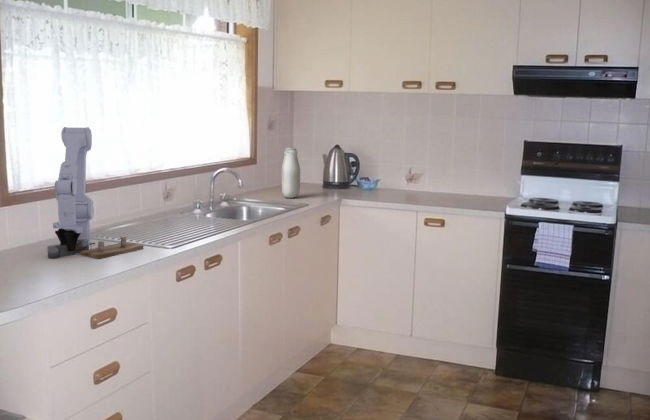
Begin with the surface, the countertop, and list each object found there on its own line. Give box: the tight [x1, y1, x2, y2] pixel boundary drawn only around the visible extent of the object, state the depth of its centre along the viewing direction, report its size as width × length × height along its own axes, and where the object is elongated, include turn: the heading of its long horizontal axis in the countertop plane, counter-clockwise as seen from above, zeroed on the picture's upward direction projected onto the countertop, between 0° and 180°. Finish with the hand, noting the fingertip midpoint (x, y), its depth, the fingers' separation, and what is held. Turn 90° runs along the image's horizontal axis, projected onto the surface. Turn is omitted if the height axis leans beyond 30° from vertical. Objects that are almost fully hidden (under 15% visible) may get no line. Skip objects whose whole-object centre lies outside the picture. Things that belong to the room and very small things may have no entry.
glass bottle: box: [280, 146, 301, 199], centre depth 381 cm, size 10×10×28 cm
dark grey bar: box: [46, 239, 90, 260], centre depth 247 cm, size 4×16×4 cm, turn 146°
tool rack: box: [80, 236, 144, 260], centre depth 252 cm, size 10×20×4 cm, turn 146°
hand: (68, 250), depth 247 cm, fingers closed on dark grey bar, 3 cm apart
